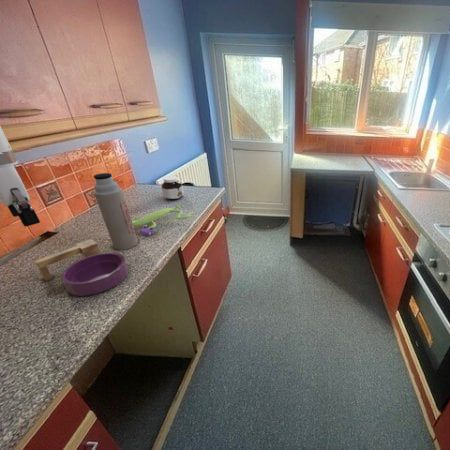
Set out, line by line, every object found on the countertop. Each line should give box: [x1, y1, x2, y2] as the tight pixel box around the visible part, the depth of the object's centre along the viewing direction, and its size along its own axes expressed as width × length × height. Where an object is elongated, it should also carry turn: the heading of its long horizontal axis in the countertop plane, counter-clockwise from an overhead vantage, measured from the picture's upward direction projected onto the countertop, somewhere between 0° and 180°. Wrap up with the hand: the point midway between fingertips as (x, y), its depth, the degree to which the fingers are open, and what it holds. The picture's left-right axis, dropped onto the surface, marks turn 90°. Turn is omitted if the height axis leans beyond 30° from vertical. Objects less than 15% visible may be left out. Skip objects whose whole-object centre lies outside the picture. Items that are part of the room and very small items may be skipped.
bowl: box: [60, 252, 129, 297], centre depth 78 cm, size 16×16×5 cm
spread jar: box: [161, 175, 185, 201], centre depth 139 cm, size 12×11×12 cm
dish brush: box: [34, 238, 102, 282], centre depth 82 cm, size 15×5×7 cm, turn 147°
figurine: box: [131, 204, 196, 236], centre depth 112 cm, size 18×27×6 cm
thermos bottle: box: [93, 172, 139, 251], centre depth 91 cm, size 8×8×28 cm
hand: (26, 219), depth 71 cm, fingers open, 9 cm apart
